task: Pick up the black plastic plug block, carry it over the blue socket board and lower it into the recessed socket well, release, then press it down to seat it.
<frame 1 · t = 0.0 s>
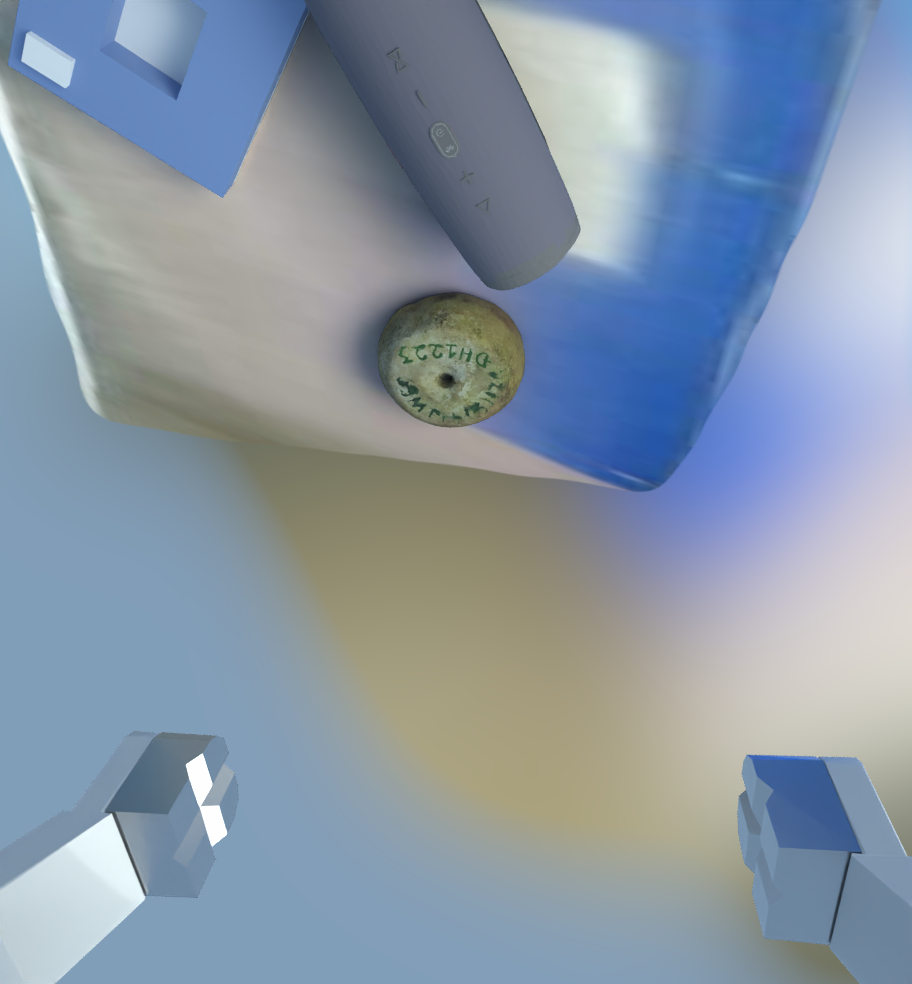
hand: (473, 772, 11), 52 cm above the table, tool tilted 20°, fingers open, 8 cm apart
socket: (168, 20, 51), on the table
weight: (452, 350, 69), on the table
bluetooth speaker: (458, 88, 52), on the table
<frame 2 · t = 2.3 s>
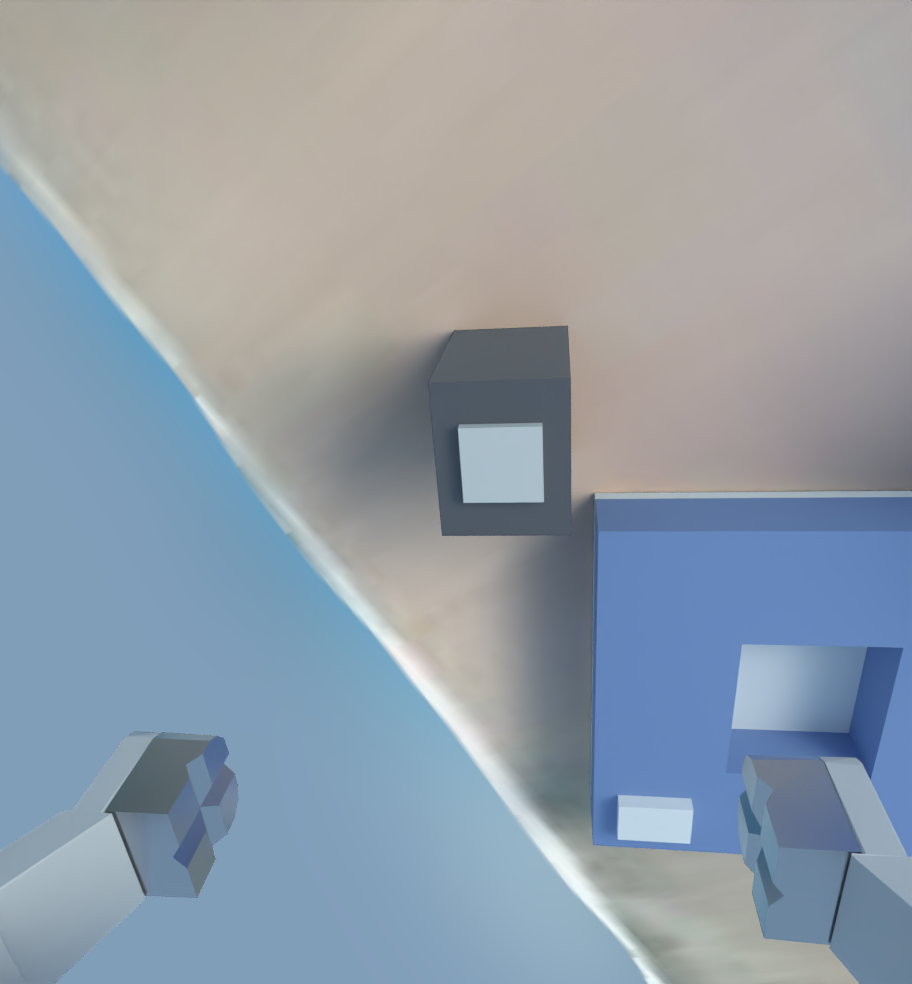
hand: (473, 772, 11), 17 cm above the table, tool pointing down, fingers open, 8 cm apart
plug: (513, 395, 27), on the table
socket: (786, 663, 31), on the table
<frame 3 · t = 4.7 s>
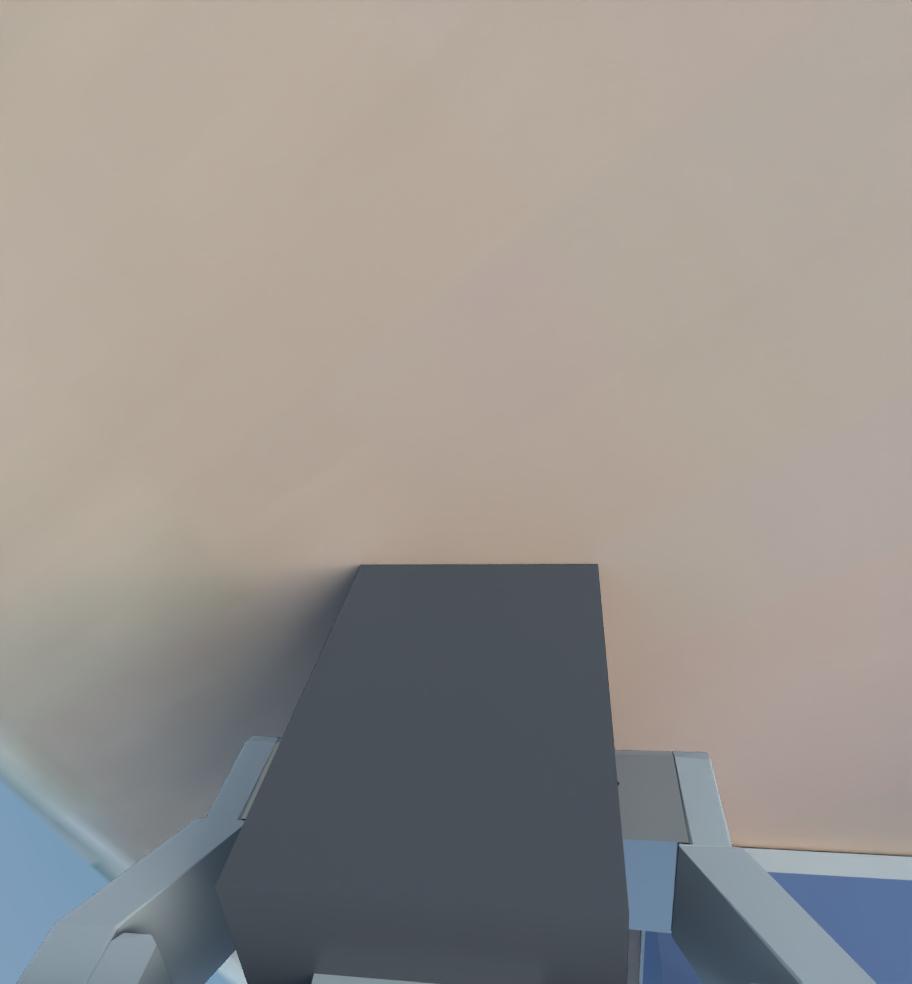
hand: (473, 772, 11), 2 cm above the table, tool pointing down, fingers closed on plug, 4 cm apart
plug: (485, 681, 13), on the table, touching gripper
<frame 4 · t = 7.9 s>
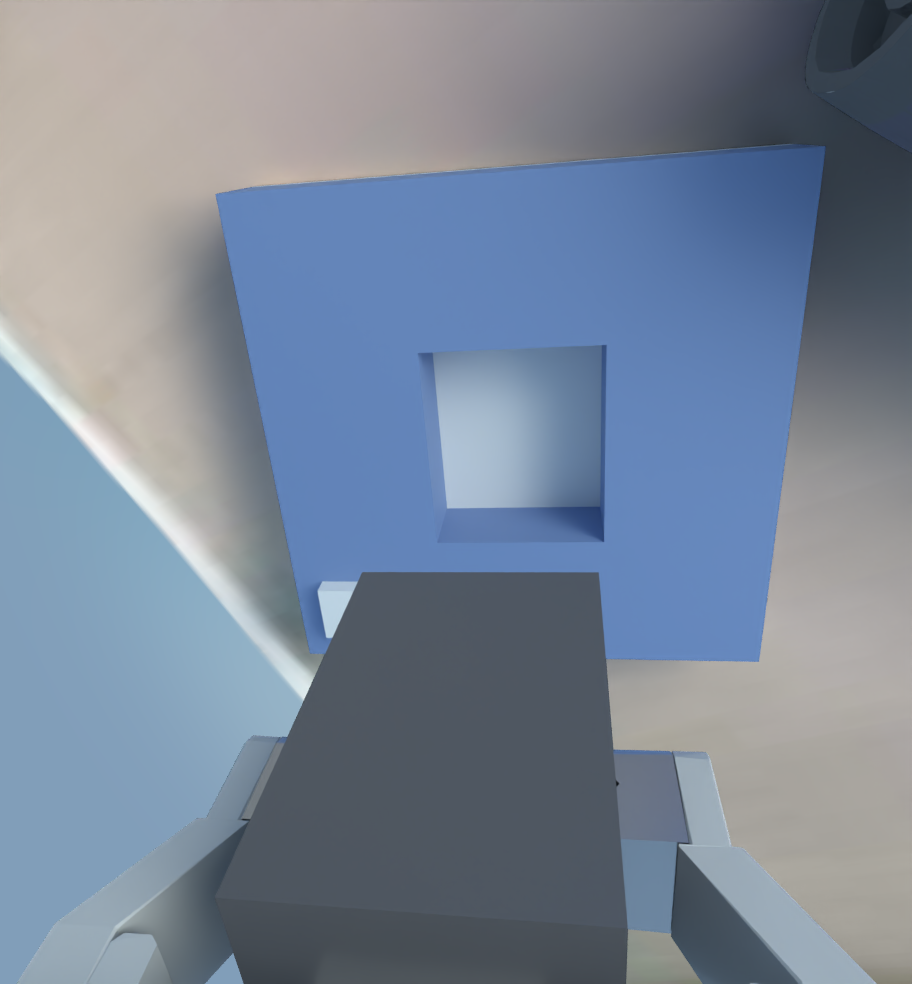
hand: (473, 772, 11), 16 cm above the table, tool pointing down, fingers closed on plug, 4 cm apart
plug: (486, 688, 13), point 14 cm above the table, touching gripper
socket: (519, 417, 25), on the table
when the fingers open (4 cm above the table, at t = 11.1 s): plug drops 1 cm, resting on socket.
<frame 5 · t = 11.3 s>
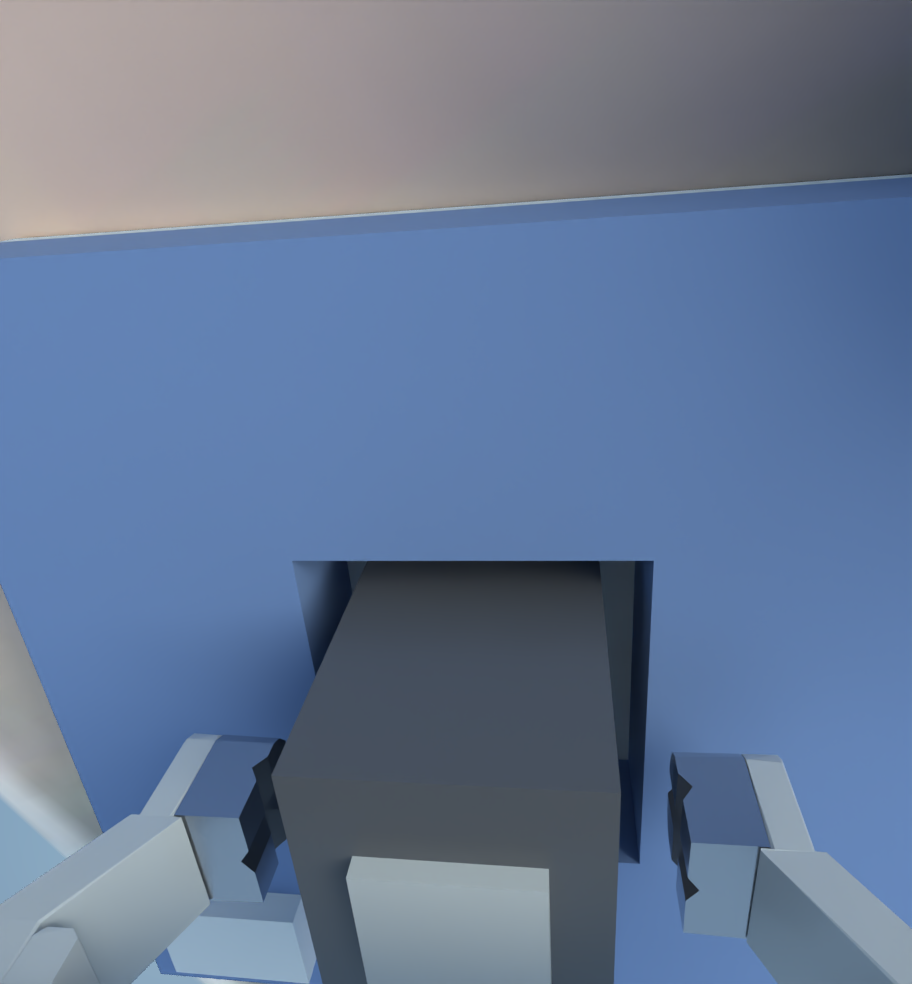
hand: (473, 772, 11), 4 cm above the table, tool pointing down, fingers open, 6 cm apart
plug: (493, 636, 15), resting on socket
socket: (493, 619, 15), on the table
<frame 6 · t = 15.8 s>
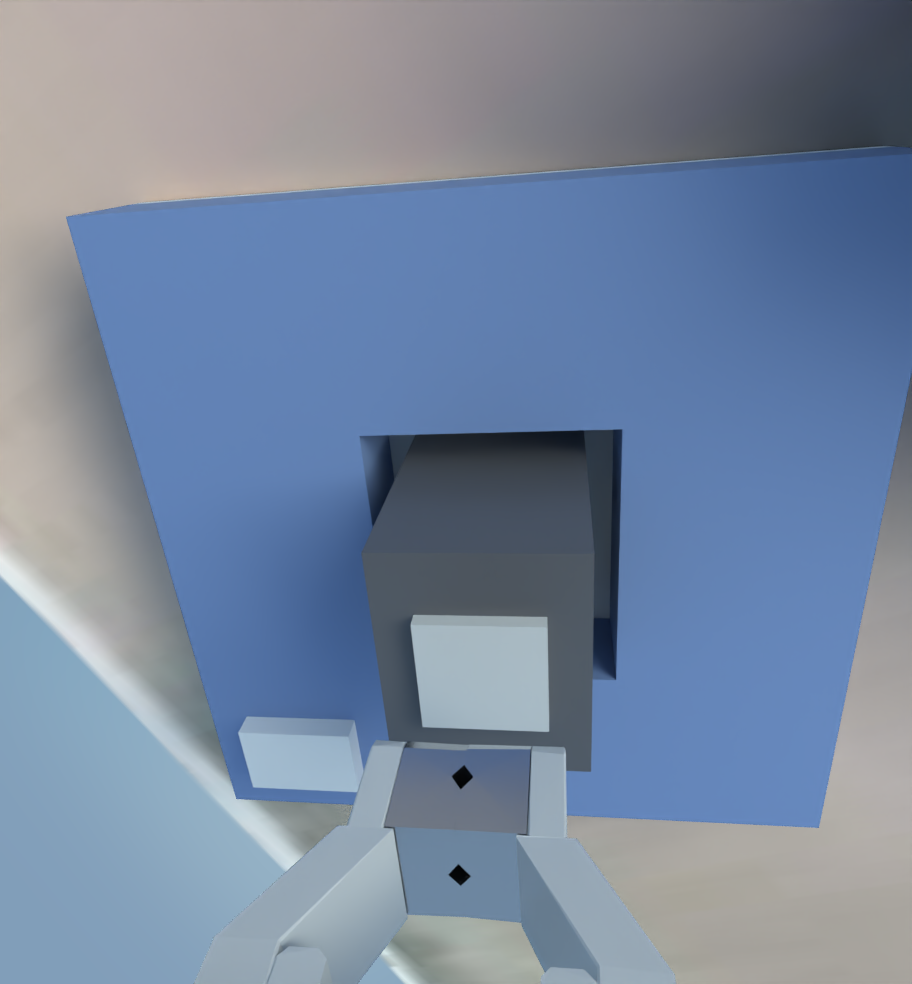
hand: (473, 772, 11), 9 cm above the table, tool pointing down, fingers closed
plug: (504, 515, 19), resting on socket
socket: (504, 504, 19), on the table
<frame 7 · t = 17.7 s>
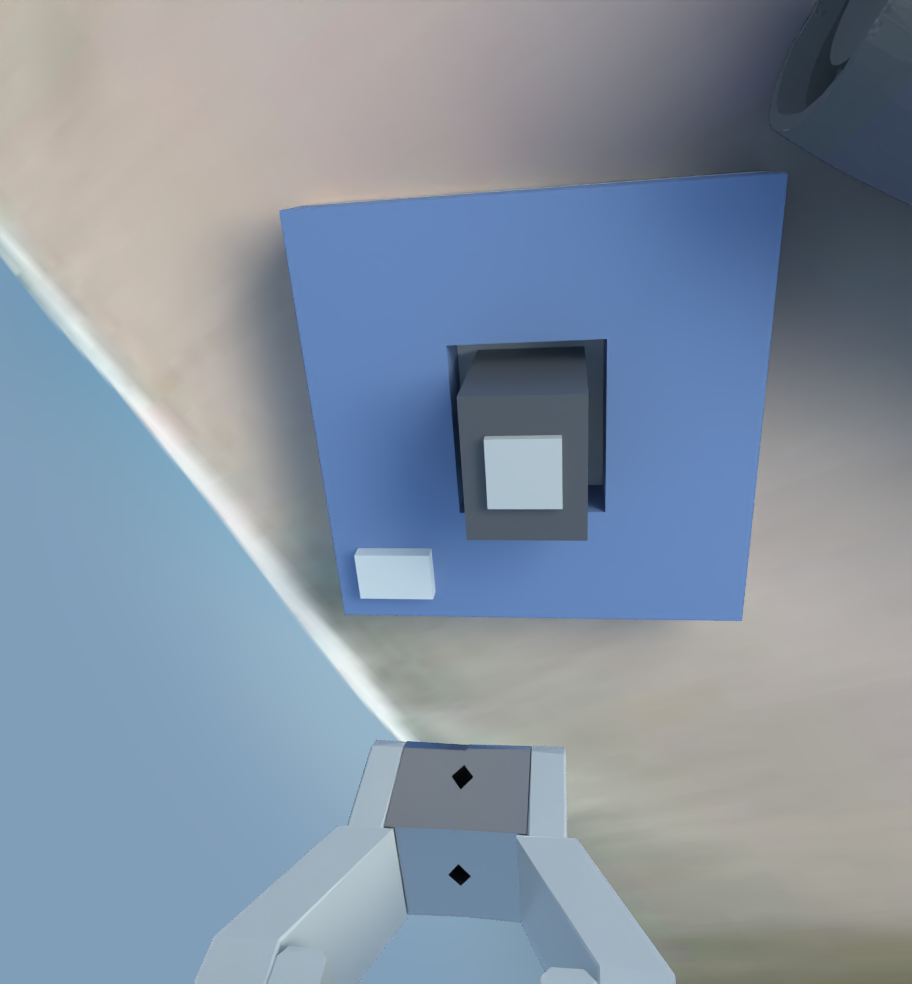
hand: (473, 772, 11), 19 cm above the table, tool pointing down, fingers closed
plug: (532, 411, 29), resting on socket
socket: (532, 405, 29), on the table
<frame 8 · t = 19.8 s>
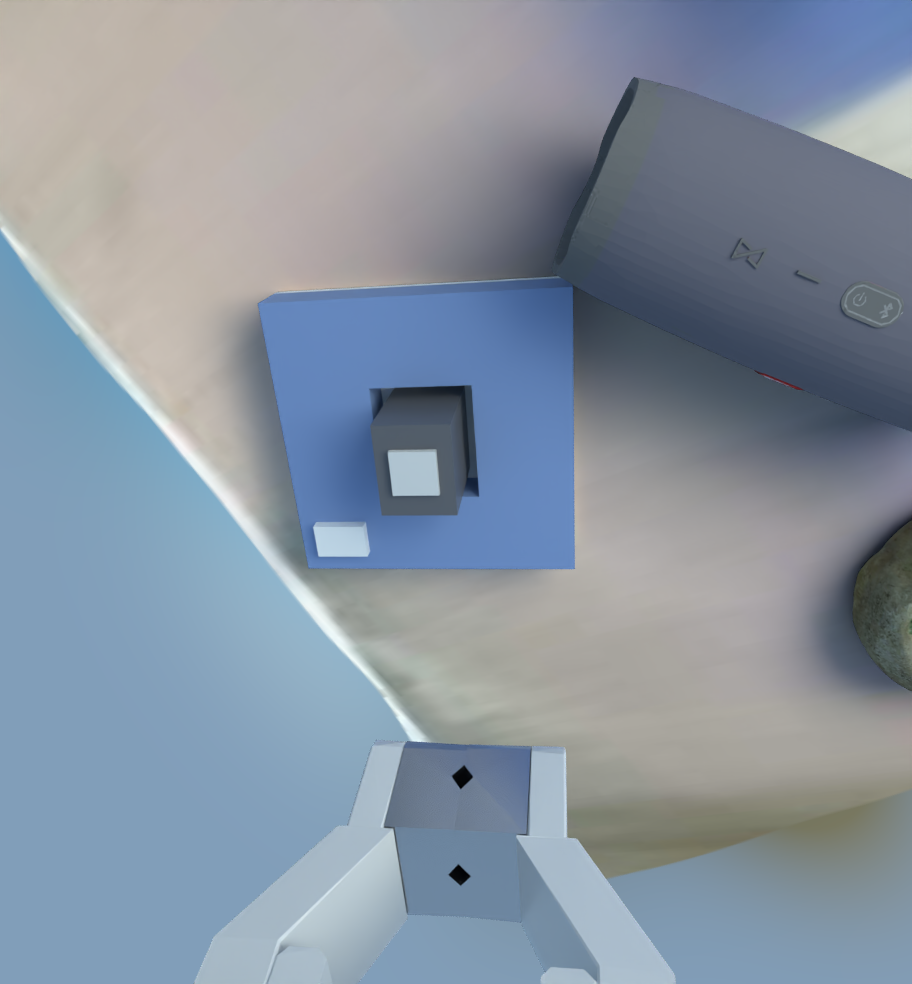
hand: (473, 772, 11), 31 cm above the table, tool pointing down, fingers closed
plug: (433, 428, 42), resting on socket
socket: (433, 424, 43), on the table
bluetooth speaker: (794, 262, 37), on the table
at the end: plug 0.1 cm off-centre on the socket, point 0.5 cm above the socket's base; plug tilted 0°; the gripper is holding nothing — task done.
